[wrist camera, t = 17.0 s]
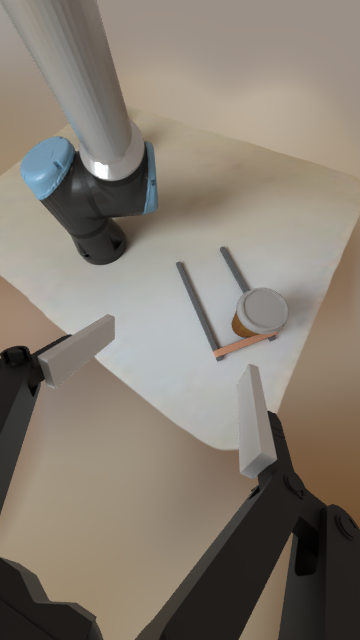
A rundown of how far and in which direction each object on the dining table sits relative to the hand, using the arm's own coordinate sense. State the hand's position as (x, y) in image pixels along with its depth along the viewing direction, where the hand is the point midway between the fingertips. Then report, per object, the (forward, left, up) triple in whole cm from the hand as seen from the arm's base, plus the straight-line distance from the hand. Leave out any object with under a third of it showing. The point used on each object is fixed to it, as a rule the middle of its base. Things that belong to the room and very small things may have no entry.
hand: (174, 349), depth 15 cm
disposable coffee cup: (-3, +18, -26) cm, 32 cm away
